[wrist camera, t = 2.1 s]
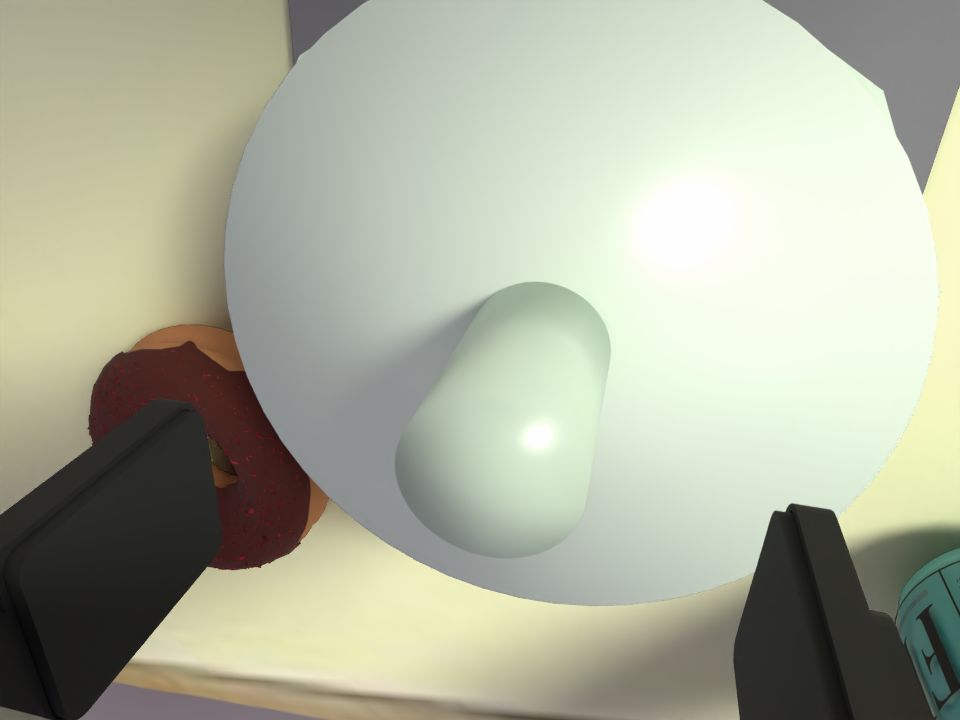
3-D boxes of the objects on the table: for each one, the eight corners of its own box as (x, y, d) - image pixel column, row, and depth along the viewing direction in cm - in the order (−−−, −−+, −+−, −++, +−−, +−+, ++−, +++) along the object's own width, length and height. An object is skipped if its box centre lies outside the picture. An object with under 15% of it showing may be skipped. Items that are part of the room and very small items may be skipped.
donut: (156, 265, 26) (72, 306, 22) (383, 397, 26) (333, 459, 22) (119, 447, 31) (48, 502, 28) (307, 558, 31) (257, 627, 28)
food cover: (940, -28, 16) (1393, -73, 6) (780, 496, 24) (863, 874, 13) (323, -46, 19) (-66, -96, 9) (353, 423, 27) (156, 685, 16)
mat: (1010, -86, 16) (1018, -88, 15) (806, 522, 24) (809, 530, 24) (287, -97, 19) (280, -98, 19) (331, 438, 28) (326, 443, 27)
